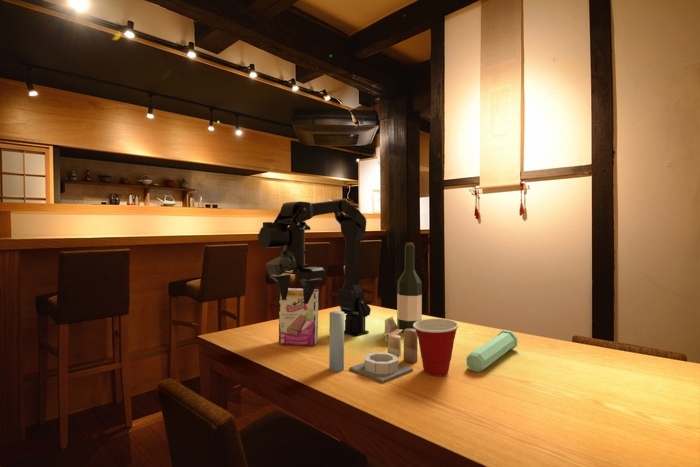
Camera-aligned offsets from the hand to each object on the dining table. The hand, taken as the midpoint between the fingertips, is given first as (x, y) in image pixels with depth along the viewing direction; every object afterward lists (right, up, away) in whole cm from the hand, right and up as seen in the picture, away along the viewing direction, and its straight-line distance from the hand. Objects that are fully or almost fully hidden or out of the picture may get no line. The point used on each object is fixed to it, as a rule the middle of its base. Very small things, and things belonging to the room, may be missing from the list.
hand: (294, 301), depth 107 cm
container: (+53, -15, -5) cm, 56 cm away
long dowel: (+12, -14, -13) cm, 23 cm away
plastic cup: (+36, -15, -15) cm, 42 cm away
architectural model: (+28, -15, +11) cm, 34 cm away
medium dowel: (+31, -14, -7) cm, 35 cm away
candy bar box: (0, -14, +7) cm, 16 cm away
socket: (+23, -14, -14) cm, 31 cm away
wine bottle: (+36, -14, +23) cm, 45 cm away
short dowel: (+28, -14, -2) cm, 31 cm away
